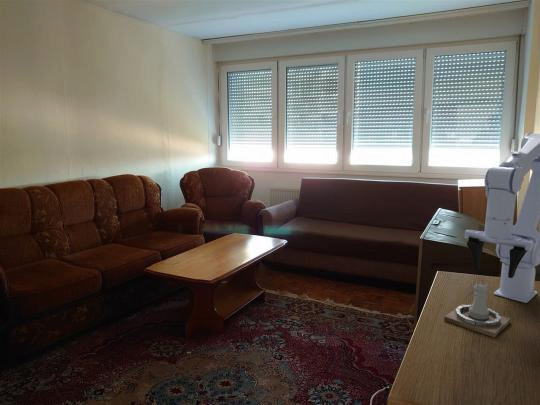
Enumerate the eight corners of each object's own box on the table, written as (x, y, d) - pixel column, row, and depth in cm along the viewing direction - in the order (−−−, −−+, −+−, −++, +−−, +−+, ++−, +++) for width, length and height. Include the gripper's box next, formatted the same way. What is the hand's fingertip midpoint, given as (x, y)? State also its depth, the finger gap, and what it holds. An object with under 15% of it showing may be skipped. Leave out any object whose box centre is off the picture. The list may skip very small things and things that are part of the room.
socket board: (461, 307, 105) (462, 300, 105) (510, 322, 97) (510, 314, 97) (444, 320, 99) (444, 312, 98) (494, 337, 91) (495, 328, 90)
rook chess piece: (491, 321, 96) (495, 288, 94) (470, 319, 97) (473, 287, 95) (486, 313, 100) (489, 281, 98) (465, 311, 101) (468, 279, 99)
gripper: (461, 215, 101) (456, 269, 104) (528, 226, 91) (521, 285, 94) (472, 211, 106) (468, 262, 109) (538, 220, 96) (531, 277, 98)
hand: (493, 272), depth 102 cm, fingers open, 7 cm apart
